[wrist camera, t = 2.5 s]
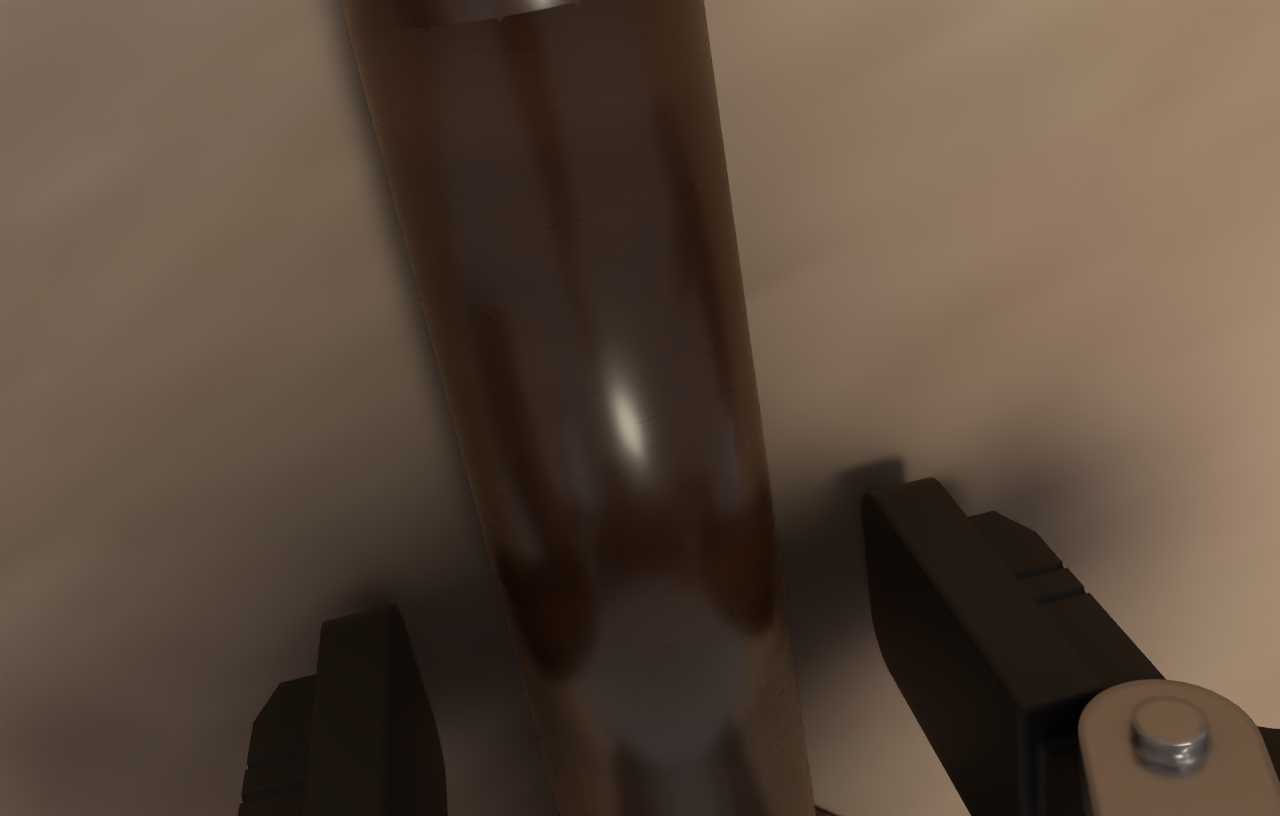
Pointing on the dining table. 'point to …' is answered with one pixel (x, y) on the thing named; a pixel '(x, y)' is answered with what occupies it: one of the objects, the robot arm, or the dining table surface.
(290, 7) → the dining table surface
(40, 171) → the dining table surface
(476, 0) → the rod with round cap
